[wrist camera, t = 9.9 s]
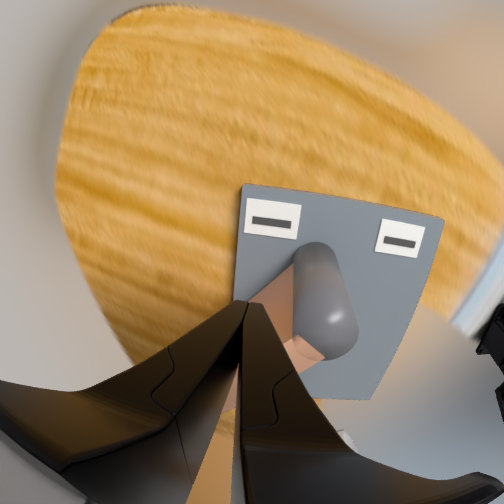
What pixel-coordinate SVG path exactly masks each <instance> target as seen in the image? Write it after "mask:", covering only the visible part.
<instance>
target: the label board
mask: <svg viewBox="0 0 504 504" xmlns="http://www.w3.org/2000/svg"><path fill="white" fill-rule="evenodd" d="M444 222H445V221H444V220H443V219H441V218H439V217H436V216H432V215H428V214H424V213H419V212H415V211H410V210H406V209H401V208H397V207H392V206H387V205H382V204H377V203H372V202H367V201H361V200H356V199H350V198H345V197H339V196H333V195H327V194H321V193H314V192H308V191H301V190H294V189H287V188H279V187H271V186H263V185H255V184H246V183H245V184H244V185H243V186H242V196H241V208H240V219H239V231H238V244H237V256H236V269H235V282H234V296H233V301H234V300H243V301H249V300H250V299H252V298H253V297H254V296H255V295H256V294H258V293H259V292H260V291H261V290H262V289H263V288H265V287H266V286H267V285H268V284H269V283H271V282H272V281H273V280H274V279H275V278H276V277H278V276H279V275H280V274H281V273H282V272H283V271H285V270H286V269H287V268H288V267H289V266H290V265H292V264H293V259H294V256H295V254H296V252H297V250H298V249H299V248H300V247H302V246H303V245H305V244H307V243H310V242H321V243H324V244H326V245H328V246H329V247H330V248H331V249H332V250H333V251H334V253H335V256H336V258H337V261H338V264H339V267H340V270H341V273H342V276H343V279H344V282H345V285H346V288H347V291H348V294H349V298H350V301H351V304H352V307H353V311H354V314H355V317H356V321H357V324H358V328H359V336H358V340H357V342H356V344H355V345H354V347H353V348H352V349H351V350H350V351H349V352H348V353H346V354H345V355H343V356H341V357H339V358H336V359H333V360H328V361H319V362H318V363H316V364H315V365H313V366H311V367H310V368H308V369H306V370H305V371H303V372H301V373H300V374H299V376H300V378H301V380H302V382H303V384H304V386H305V387H306V389H307V391H308V392H309V394H310V396H311V397H312V398H323V399H345V400H370V398H371V396H372V395H373V393H374V391H375V390H376V388H377V386H378V385H379V383H380V381H381V379H382V377H383V376H384V374H385V372H386V370H387V368H388V366H389V364H390V363H391V361H392V359H393V357H394V355H395V353H396V351H397V349H398V347H399V345H400V343H401V341H402V338H403V336H404V334H405V332H406V330H407V327H408V325H409V323H410V321H411V319H412V316H413V314H414V311H415V309H416V307H417V304H418V302H419V299H420V297H421V294H422V291H423V289H424V286H425V283H426V281H427V278H428V275H429V272H430V269H431V266H432V263H433V260H434V257H435V254H436V250H437V247H438V244H439V240H440V237H441V233H442V229H443V226H444Z"/></svg>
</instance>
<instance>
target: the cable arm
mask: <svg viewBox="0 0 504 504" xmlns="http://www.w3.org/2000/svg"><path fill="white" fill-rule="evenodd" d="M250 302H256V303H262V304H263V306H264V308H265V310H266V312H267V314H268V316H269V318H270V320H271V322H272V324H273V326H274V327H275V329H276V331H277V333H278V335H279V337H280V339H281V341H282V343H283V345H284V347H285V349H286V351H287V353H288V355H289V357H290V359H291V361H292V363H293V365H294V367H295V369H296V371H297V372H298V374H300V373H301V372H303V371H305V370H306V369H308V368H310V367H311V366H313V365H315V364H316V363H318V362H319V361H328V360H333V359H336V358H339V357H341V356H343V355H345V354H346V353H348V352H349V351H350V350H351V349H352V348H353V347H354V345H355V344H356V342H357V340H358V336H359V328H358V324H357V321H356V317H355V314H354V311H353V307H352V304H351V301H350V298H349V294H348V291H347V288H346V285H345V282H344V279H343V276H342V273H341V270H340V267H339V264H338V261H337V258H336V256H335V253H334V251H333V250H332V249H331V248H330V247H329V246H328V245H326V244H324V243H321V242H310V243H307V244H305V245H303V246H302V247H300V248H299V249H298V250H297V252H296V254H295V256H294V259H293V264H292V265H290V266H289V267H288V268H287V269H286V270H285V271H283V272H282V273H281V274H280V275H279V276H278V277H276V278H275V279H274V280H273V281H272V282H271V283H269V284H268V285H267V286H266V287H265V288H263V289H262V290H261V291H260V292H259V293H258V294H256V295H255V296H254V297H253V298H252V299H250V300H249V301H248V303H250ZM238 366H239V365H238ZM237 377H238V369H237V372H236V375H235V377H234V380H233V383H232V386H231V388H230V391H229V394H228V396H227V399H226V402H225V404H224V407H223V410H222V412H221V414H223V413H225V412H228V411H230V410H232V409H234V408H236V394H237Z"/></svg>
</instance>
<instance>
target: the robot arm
mask: <svg viewBox="0 0 504 504" xmlns="http://www.w3.org/2000/svg"><path fill="white" fill-rule="evenodd" d="M476 353H477V354H478V355H481V354H490V355H491V356H492V358H493V359H494V361H495V363H496V364H497V366H499V368H500V370H501V371H502V373H503V375H504V303H502V304H500V305H499V307H498V309H497V311H496V313H495V315H494V317H493V319H492V321H491V323H490V325H489V327H488V329H487V331H486V333H485V335H484V337H483V338H482V340H481V342H480V344H479V345H478V347H477V349H476ZM238 365H239V366H238ZM237 369H238V377H237V394H236V411H235V429H234V447H233V448H234V449H233V466H232V486H231V504H488V503H489V502H491V501H493V500H494V499H496V498H497V497H498V496H500V495H501V494H502V493H504V485H503V483H502V482H500V481H499V480H498V479H496V478H494V477H492V476H489V475H486V474H483V473H480V472H473V473H470V474H467V475H464V476H461V477H458V478H455V479H450V480H432V479H426V478H422V477H419V476H415V475H412V474H409V473H406V472H403V471H400V470H397V469H394V468H392V467H389V466H386V465H383V464H381V463H378V462H375V461H373V460H371V459H368V458H366V457H363V456H361V455H359V454H358V453H356V452H355V451H354V450H352V449H351V448H350V447H349V446H348V445H347V444H346V443H345V442H344V440H343V439H342V438H341V437H340V435H339V434H338V433H337V431H336V430H335V429H334V427H333V426H332V425H331V423H330V422H329V421H328V419H327V418H326V417H325V415H324V414H323V413H322V411H321V410H320V409H319V407H318V406H317V404H316V403H315V401H314V400H313V398H312V397H311V396H310V394H309V392H308V391H307V389H306V387H305V386H304V384H303V382H302V380H301V378H300V376H299V374H298V372H297V371H296V369H295V367H294V365H293V363H292V361H291V359H290V357H289V355H288V353H287V351H286V349H285V347H284V345H283V343H282V341H281V339H280V337H279V335H278V333H277V331H276V329H275V327H274V326H273V324H272V322H271V320H270V318H269V316H268V314H267V312H266V310H265V308H264V306H263V304H262V303H256V302H250V303H248V301H243V300H234V301H233V302H231V303H230V304H229V305H227V306H226V307H224V308H223V309H221V310H220V311H218V312H217V313H216V314H214V315H213V316H211V317H210V318H208V319H207V320H205V321H204V322H202V323H201V324H200V325H198V326H197V327H195V328H194V329H192V330H191V331H189V332H188V333H186V334H185V335H183V336H182V337H180V338H179V339H177V340H176V341H174V342H173V343H171V344H170V345H168V346H167V348H164V349H162V350H161V351H159V352H158V353H156V354H154V355H153V356H151V357H149V358H148V359H146V360H145V361H143V362H141V363H139V364H137V365H135V366H133V367H132V368H130V369H128V370H126V371H124V372H122V373H120V374H117V375H115V376H113V377H111V378H109V379H107V380H105V381H103V382H101V383H98V384H96V385H94V386H92V387H89V388H87V389H84V390H80V391H74V392H65V391H57V390H49V389H42V388H36V387H31V386H25V385H20V384H15V383H10V382H6V381H1V380H0V504H185V503H186V501H187V498H188V496H189V494H190V491H191V489H192V485H193V484H194V481H195V479H196V476H197V474H198V471H199V469H200V466H201V464H202V461H203V459H204V456H205V454H206V451H207V449H208V446H209V444H210V441H211V438H212V436H213V433H214V431H215V428H216V425H217V423H218V420H219V418H220V415H221V412H222V410H223V407H224V404H225V402H226V399H227V396H228V394H229V391H230V388H231V386H232V383H233V380H234V377H235V375H236V372H237ZM495 393H496V398H497V401H498V404H499V407H500V411H501V415H502V419H503V422H504V382H503V383H502V384H501V385H500V387H498V388H497V389H496V390H495Z"/></svg>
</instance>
